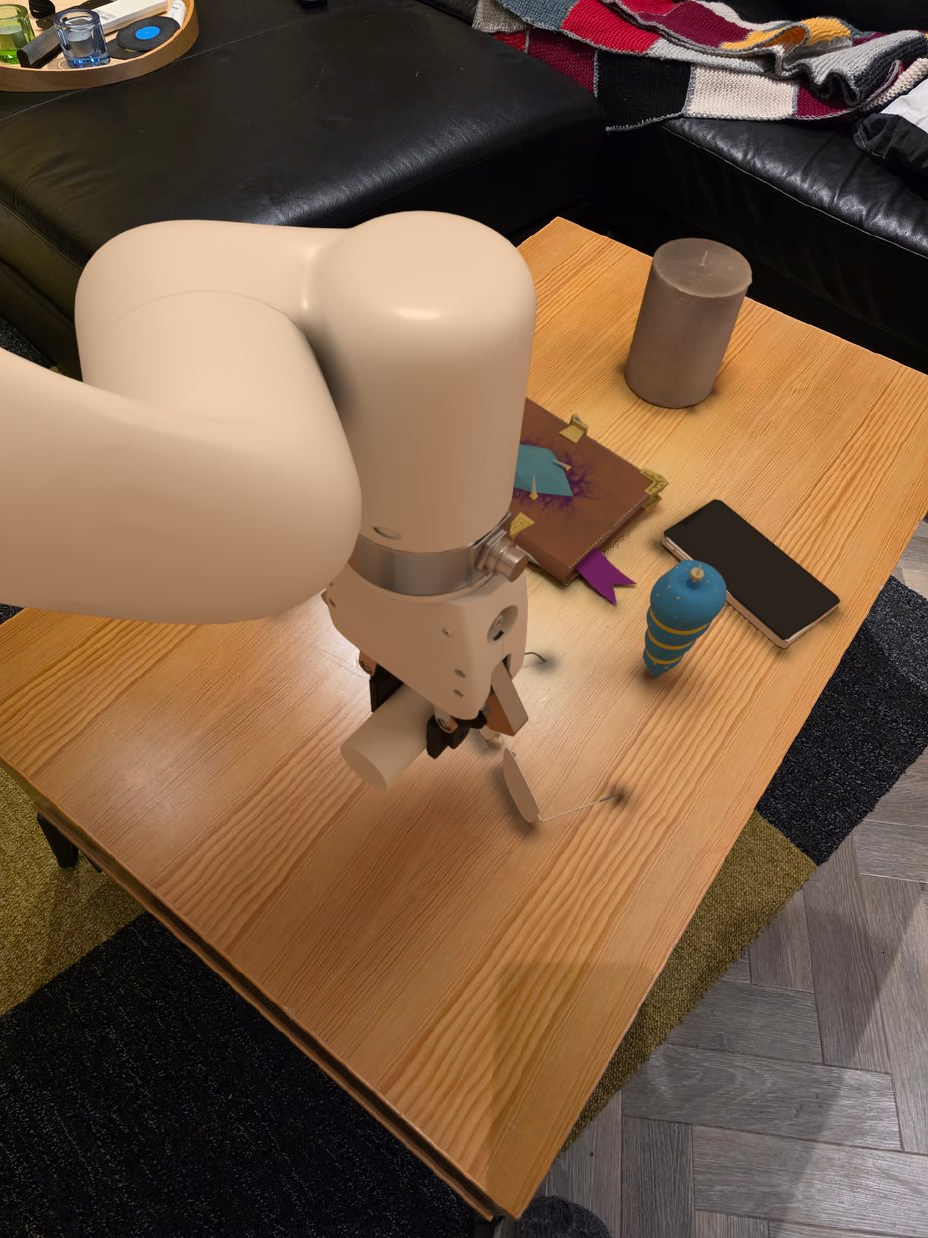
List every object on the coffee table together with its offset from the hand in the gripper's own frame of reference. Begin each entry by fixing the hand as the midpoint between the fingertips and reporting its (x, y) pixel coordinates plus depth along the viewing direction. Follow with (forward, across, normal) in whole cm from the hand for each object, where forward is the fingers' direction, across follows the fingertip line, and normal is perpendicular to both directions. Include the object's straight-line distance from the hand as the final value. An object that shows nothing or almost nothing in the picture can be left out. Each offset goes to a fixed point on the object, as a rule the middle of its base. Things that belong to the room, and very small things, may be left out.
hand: (419, 717), depth 53 cm
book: (+15, +11, -33) cm, 38 cm away
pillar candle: (+15, +12, -56) cm, 59 cm away
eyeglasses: (+15, -3, -11) cm, 19 cm away
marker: (+1, 0, 0) cm, 1 cm away
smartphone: (+15, -8, -37) cm, 41 cm away
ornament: (+15, -7, -22) cm, 28 cm away
